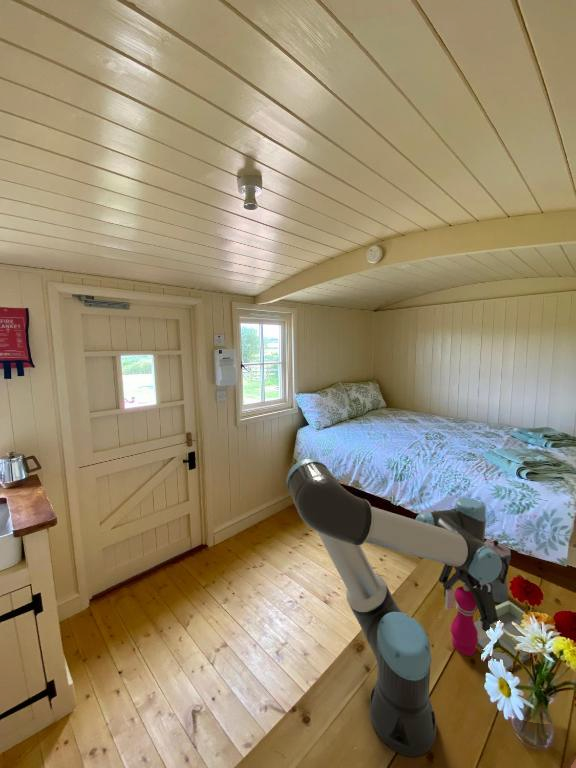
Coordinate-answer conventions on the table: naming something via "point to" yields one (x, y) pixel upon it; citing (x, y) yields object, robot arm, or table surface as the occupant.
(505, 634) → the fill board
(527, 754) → the table surface
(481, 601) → the robot arm
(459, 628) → the pepper mill
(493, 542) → the moka pot
